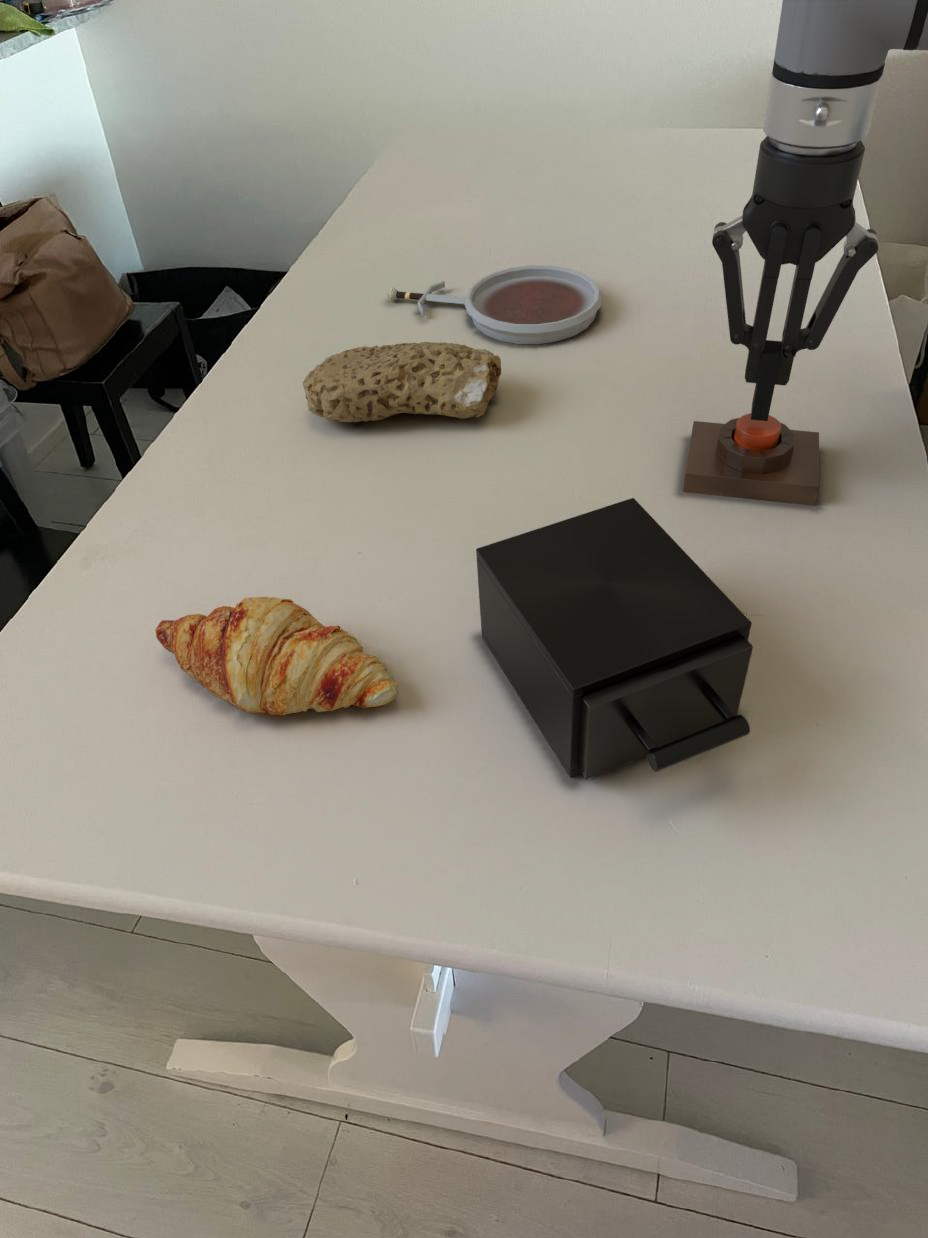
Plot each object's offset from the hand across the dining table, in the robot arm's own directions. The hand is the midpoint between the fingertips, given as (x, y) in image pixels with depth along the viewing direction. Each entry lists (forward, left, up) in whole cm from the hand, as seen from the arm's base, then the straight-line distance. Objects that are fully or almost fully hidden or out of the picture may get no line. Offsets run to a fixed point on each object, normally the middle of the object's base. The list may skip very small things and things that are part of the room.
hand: (759, 412), depth 85 cm
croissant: (+35, +35, -7) cm, 50 cm away
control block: (0, 0, -7) cm, 7 cm away
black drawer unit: (+10, +29, -7) cm, 31 cm away
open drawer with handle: (+8, +32, -6) cm, 33 cm away
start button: (0, 0, -3) cm, 3 cm away
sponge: (+37, -5, -7) cm, 38 cm away
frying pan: (+33, -29, -7) cm, 44 cm away
